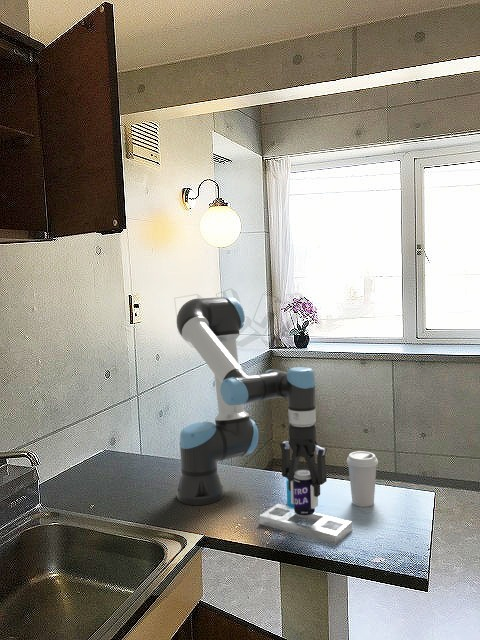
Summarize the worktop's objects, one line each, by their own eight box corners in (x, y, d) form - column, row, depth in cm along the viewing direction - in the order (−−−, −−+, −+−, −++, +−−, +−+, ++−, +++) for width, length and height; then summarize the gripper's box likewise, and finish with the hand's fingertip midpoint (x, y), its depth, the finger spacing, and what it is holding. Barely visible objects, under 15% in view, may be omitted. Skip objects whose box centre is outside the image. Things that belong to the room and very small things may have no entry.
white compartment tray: (259, 524, 161) (259, 515, 161) (278, 511, 169) (278, 503, 169) (336, 545, 147) (335, 535, 147) (352, 530, 155) (351, 521, 155)
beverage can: (292, 510, 160) (291, 469, 159) (311, 509, 161) (310, 468, 160) (296, 519, 154) (295, 476, 153) (317, 517, 155) (315, 475, 154)
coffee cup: (360, 511, 167) (359, 462, 166) (341, 500, 175) (339, 453, 174) (385, 504, 171) (384, 456, 170) (364, 494, 180) (364, 448, 178)
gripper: (266, 422, 158) (269, 502, 160) (326, 431, 147) (328, 516, 149) (280, 416, 164) (283, 493, 166) (338, 424, 153) (340, 506, 155)
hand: (304, 504), depth 157 cm, fingers closed on beverage can, 6 cm apart
